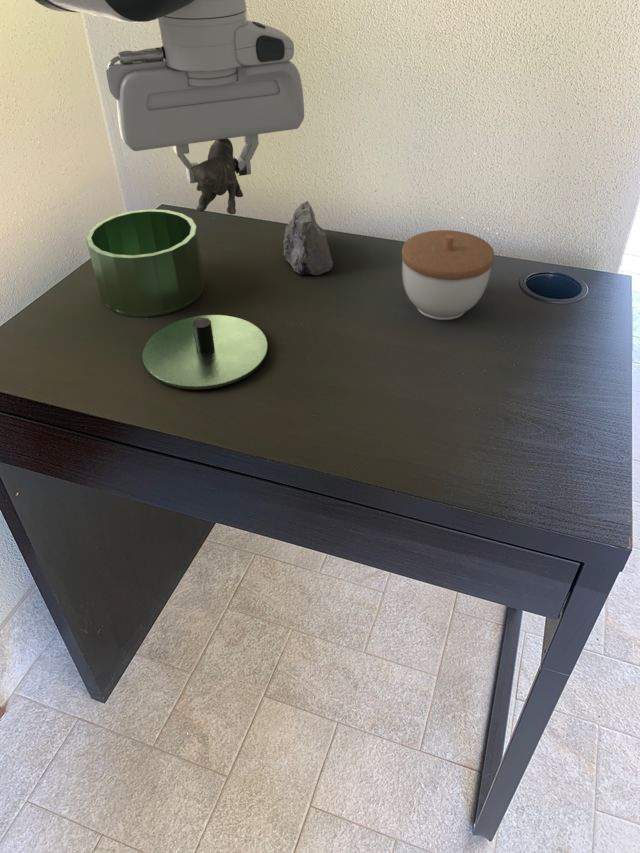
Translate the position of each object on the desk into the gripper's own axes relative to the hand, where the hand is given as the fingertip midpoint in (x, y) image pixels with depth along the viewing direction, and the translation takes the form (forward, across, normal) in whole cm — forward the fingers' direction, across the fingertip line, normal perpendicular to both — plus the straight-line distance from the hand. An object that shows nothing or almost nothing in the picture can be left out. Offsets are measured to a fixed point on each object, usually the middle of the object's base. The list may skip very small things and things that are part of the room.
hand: (219, 177), depth 79 cm
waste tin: (+23, -8, +19) cm, 31 cm away
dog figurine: (+3, -1, -1) cm, 3 cm away
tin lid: (+22, -5, -1) cm, 23 cm away
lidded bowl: (+23, +30, -3) cm, 38 cm away
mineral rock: (+23, +18, +19) cm, 35 cm away
